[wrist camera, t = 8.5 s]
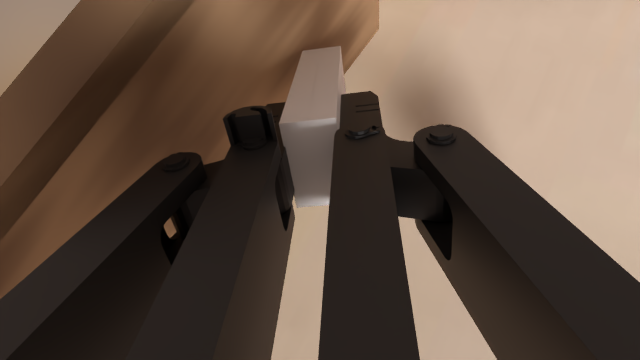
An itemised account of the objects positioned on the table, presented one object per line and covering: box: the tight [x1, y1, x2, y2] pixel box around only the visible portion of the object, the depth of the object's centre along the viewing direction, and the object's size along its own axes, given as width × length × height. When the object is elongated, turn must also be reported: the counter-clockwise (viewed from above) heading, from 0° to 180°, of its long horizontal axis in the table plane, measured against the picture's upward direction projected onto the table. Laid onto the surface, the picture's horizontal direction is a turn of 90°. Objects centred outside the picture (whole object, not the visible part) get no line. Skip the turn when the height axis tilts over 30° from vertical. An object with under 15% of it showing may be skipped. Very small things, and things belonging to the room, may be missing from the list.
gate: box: [0, 0, 379, 299], centre depth 15 cm, size 22×2×13 cm, turn 143°
